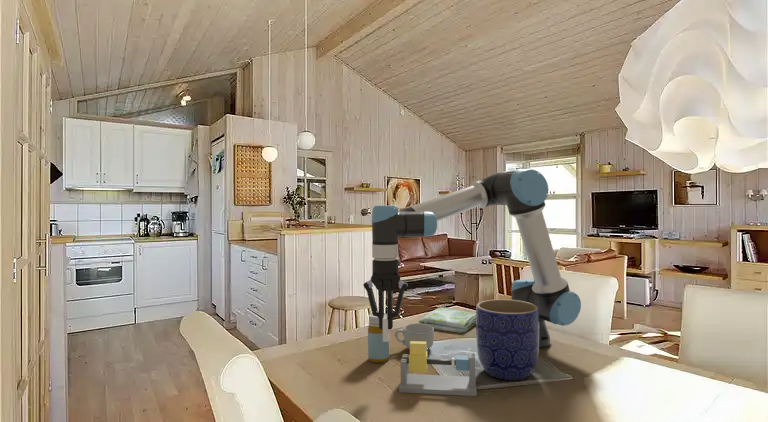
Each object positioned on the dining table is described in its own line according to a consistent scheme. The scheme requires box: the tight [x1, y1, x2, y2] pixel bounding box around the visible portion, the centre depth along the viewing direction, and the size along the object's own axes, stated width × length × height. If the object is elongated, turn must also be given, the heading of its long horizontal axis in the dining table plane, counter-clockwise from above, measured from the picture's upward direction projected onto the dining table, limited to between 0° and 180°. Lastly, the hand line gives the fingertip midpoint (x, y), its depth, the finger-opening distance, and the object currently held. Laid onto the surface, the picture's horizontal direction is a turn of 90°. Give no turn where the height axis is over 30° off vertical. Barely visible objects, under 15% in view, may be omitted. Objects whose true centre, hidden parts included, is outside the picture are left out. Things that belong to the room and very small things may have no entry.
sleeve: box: [408, 341, 429, 373], centre depth 124 cm, size 5×4×8 cm
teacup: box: [394, 322, 435, 351], centre depth 155 cm, size 14×11×8 cm
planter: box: [475, 298, 540, 381], centre depth 132 cm, size 18×18×21 cm
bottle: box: [367, 312, 390, 364], centre depth 146 cm, size 7×7×15 cm
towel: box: [417, 307, 476, 334], centre depth 185 cm, size 18×21×5 cm
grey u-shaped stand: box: [398, 352, 478, 397], centre depth 124 cm, size 21×10×9 cm, turn 81°
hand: (386, 340), depth 126 cm, fingers closed
